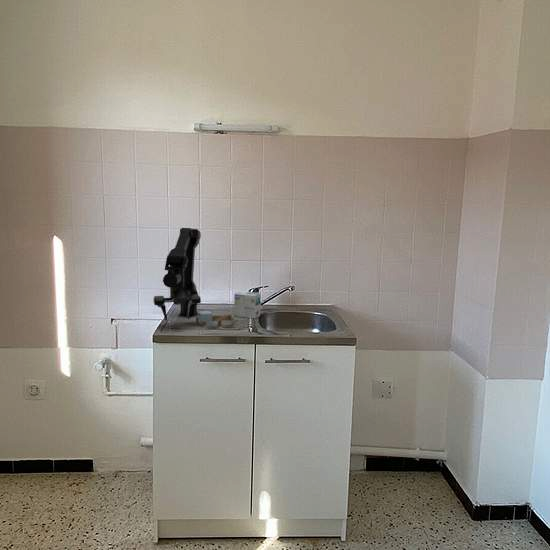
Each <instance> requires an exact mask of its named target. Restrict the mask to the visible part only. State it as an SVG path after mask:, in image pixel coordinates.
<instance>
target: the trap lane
mask: <svg viewBox="0 0 550 550" xmlns="http://www.w3.org/2000/svg"><path fill="white" fill-rule="evenodd" d="M213 320H216V321H217V325H206V322H200V324H199V327H200V328H204V327H203V326H206V327H205V328H206V329H207V330H216V329H215V328H219V329H221V327H222V328H224V329H231V328H232V327H233V328H235V325H238V319H237V318H236V316H234V315H233V314H222V315H219V314H218V315H212V322H214V321H213ZM226 320H227V321H230V320H231V322H230V323H231V324H222V321H226ZM195 322H196V323H198V316H195ZM220 326H221V327H220Z"/></svg>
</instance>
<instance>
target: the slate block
mask: <svg viewBox="0 0 550 550" xmlns="http://www.w3.org/2000/svg"><path fill="white" fill-rule="evenodd" d="M197 313H198V314H197V315H198V316H197V317H198V322H197V323H198V324H199V325H200V322H206V326H213V321H212V316H213V313H212V312H211V311H210V310H204V311H203V310H201V311H198V310H197Z"/></svg>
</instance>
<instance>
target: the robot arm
mask: <svg viewBox="0 0 550 550" xmlns="http://www.w3.org/2000/svg"><path fill="white" fill-rule="evenodd" d="M201 238H202V233H201V231H200V230H199V229H198V228H191V227H180V229H179V235H178V239H177V241H176V244H175V247H174V248H172V249H171V250H169V253H168V254H167V256H166V258H165V259H166V260H165V265H164V271H167V273H165V275H164V276H163V278H162V283H163V284H164V286H165V287H166V288H169V295H170V296H169V297H164V295H155V296H153V300H152V301H153V304H154V306H157V307H158V308H160V309H161V311H162V313H163V318H164V319H165V321H166V322H167V309H166V304H165V303H173V305H177V306H178V305H180V308H179V309H180V313H178V316H182V317H187V320H190V317H193V316H195V315H198V310H197V309H198V308H197V307H198V304H201V303H202V301H201V300H202V298H201V296H200V295H199V292H198V289H197V286H196V284H195V282H194V272H195V271H194V269H195V268H194V267H195V255H196V248H197V247H198V245H199V244H200V240H201Z"/></svg>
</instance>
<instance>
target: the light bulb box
mask: <svg viewBox="0 0 550 550" xmlns="http://www.w3.org/2000/svg"><path fill="white" fill-rule="evenodd" d="M261 294H262V293H261V292H253V291H241V290H240V291H237V292H235V293H234V300H233V301H234V303H233V304H234V307H233V309H234V311H233V312H234V315H233V316H234V317H239V318H240V317H241V318H247V319H257V318H258V317H261V314H262V313H261V309H262V307H261V304H262V303H261V301H262V300H261V299H262V298H261V297H262V295H261ZM250 317H252V318H250Z"/></svg>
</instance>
